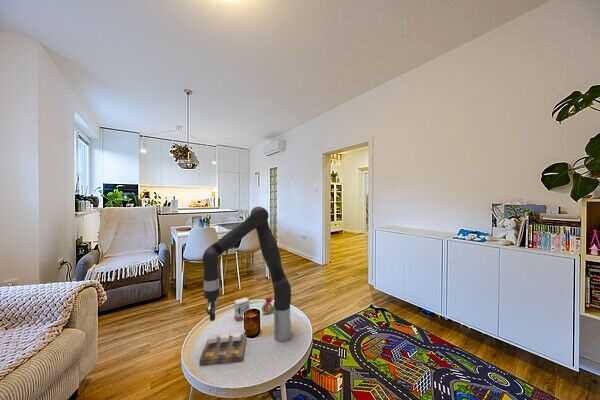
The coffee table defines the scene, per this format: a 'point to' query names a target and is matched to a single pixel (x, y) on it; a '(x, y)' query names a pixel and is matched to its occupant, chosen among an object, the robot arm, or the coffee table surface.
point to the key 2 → (236, 336)
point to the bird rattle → (265, 306)
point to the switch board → (223, 352)
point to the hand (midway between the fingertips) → (212, 320)
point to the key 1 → (213, 338)
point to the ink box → (241, 308)
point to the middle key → (225, 337)
